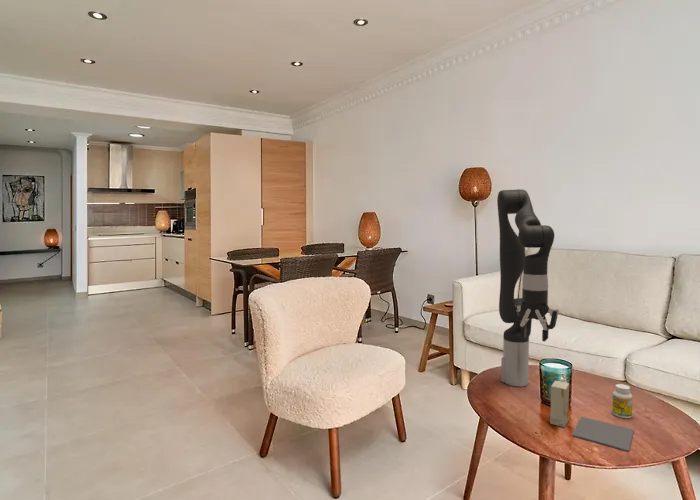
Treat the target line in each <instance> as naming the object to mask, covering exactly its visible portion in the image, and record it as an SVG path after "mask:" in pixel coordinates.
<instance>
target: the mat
mask: <svg viewBox="0 0 700 500" xmlns="http://www.w3.org/2000/svg"><path fill="white" fill-rule="evenodd" d="M634 431H635V429H634V428H629V427H625V426H620V425H618V424H613V423H609V422H606V421H605V422H604V421H602V420H601V421H600V420H597V419H593V418H589V417H586V416H581V417H580V419H579V420H578V422H577V424H576V426H575V428H574V430H573V432H572V434H571V435H572V436H571V437H574V438H577V439H581V440H585V441H587V442H592V443H595V444H599V445H603V446H606V447H610V448H613V449H617V450H620V451H624V452H627V453H630V449H631V444H632V441H633V436H634Z"/></svg>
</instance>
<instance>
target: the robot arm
mask: <svg viewBox="0 0 700 500" xmlns="http://www.w3.org/2000/svg"><path fill="white" fill-rule="evenodd" d="M530 198H531V197H530V195H529V193H528V191H527V190H526V189H520V188H519V189H518V188H517V189H502V190H500V191H499V192H498V193H497V201H496V202H497V203H496V204H497V213H498V214H497V215H498V227H499V267H500V268H499V269H500V271H499V272H500V283H499V284H500V285H499V287H500V290H499V297H498V298H499V299H498V300H499V302H498V311H499V317H500V319H501V320H502V322H503V323H505V324H512V325H511V326H510V327H509V328H507V329H505V330H504V331H503V334H502V335H503V341H502V342H503V345H502V347H503V351H502V352H503V353H502V355H503V357H501V359H500V361H501V364H500V366H501V367H500V368H501V369H500V372H501V375H500V376H501V377H500V381H502V382H501V383H504V382H505V384H506V385H509V386H512V387H517V388H518V387H525V386H526V387H527V386H528V385H529V362H530V361H529V360H530V354H529V353H530V352H529V351H530V350H529V349H530V348H529V347H530V336H531V334H532V321H533V320H534V319H535V320H537V321H539V323H540V324H541V327H542V333H541V339H542V340H541V341H542V342H546V341H548V339H549V330H553V329H554V328H556V325H557V321H558V316H559V310H558V309H552V308H550V307H549V303H548V300H549V299H548V298H549V279H548V278H549V277H548V261H549V257H550V252H551V250H552V248H553V247H552V246H553V244H554V240H555V231H554V229H553V228H552V227H551V226H550V225H547V224H546V225H542V224H541V221H540V219H539V218H538V216H537V215H536V213H535V212H534V208H533V204H532V202H531V199H530ZM509 215H515V217H514V222H515V225H516V227H517V229H518V233H516V232H515V230H514V228H513V227H512V225H511V223H510V220H509ZM526 248H531V249H533V248H534V249H535V248H539V249H538V251H537V252H535V253H534V254H527V255H526ZM522 274H523V276H522ZM521 276H522V284H521V285H522V291H521V292H522V295H521V297H518V298H515V289H516V285H517V283H518V280H519V279H520V278H521ZM547 313H549V316H550V322H549V323H548V320H547V317H546V315H547Z"/></svg>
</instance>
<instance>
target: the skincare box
mask: <svg viewBox="0 0 700 500" xmlns="http://www.w3.org/2000/svg"><path fill="white" fill-rule="evenodd" d="M569 404H570V383H569V382H564V381H559V380H554V382H553V383H552V385H551V386H550V418H549V419H550V420H549V421H550V422H549V424H550V425H554V426H557V427H561V428H566V426H567V424H568V422H569V416H570V415H569V408H570V405H569Z"/></svg>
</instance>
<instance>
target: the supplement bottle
mask: <svg viewBox="0 0 700 500" xmlns="http://www.w3.org/2000/svg"><path fill="white" fill-rule="evenodd" d="M614 388H615V390H614V391H613V392H612V414H613V415H614V416H616V417H618V418H620V419H631V418H632V417H633V398H634V397H633V394H632V393H631V387H630V386H629V385H628V384H627V385H626V384H623V383H617V384H615V386H614Z"/></svg>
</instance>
